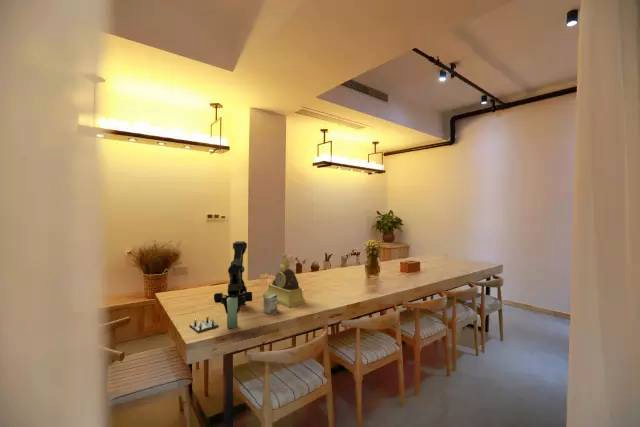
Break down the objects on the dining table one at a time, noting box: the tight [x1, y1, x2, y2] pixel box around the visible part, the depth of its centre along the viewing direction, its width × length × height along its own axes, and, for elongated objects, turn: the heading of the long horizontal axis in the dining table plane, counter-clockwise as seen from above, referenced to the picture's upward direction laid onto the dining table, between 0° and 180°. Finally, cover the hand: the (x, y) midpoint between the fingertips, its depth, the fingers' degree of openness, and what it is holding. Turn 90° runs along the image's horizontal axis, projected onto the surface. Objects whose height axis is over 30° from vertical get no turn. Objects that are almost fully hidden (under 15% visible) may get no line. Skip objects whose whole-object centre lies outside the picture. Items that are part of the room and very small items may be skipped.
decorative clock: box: [262, 253, 306, 309], centre depth 182 cm, size 28×13×30 cm, turn 45°
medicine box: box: [263, 294, 278, 314], centre depth 162 cm, size 8×4×9 cm, turn 158°
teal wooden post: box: [226, 297, 239, 329], centre depth 139 cm, size 5×5×14 cm
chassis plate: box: [189, 315, 219, 334], centre depth 139 cm, size 10×10×4 cm
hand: (232, 313), depth 138 cm, fingers closed on teal wooden post, 5 cm apart
